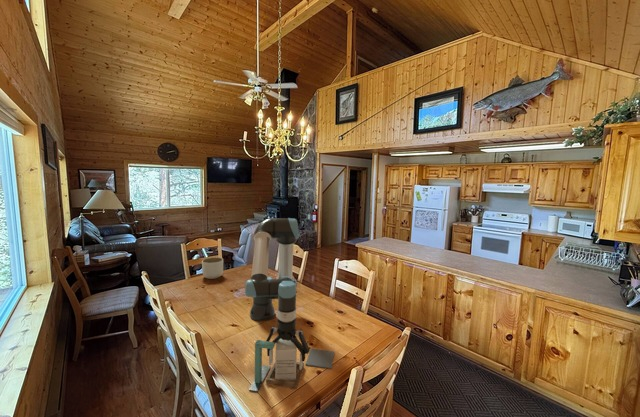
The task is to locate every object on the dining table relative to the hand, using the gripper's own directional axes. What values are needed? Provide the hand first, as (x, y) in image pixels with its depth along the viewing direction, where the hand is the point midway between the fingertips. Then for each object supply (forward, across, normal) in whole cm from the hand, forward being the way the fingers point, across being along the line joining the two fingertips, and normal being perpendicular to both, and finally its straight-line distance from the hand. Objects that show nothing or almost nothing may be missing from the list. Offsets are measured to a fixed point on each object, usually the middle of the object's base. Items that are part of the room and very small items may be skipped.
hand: (285, 365), depth 115 cm
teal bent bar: (+4, -7, -6) cm, 11 cm away
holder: (+5, 0, 0) cm, 5 cm away
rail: (+5, -10, -4) cm, 12 cm away
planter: (+4, -96, +98) cm, 137 cm away
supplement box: (+5, 0, 0) cm, 5 cm away
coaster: (+5, +13, +14) cm, 20 cm away
